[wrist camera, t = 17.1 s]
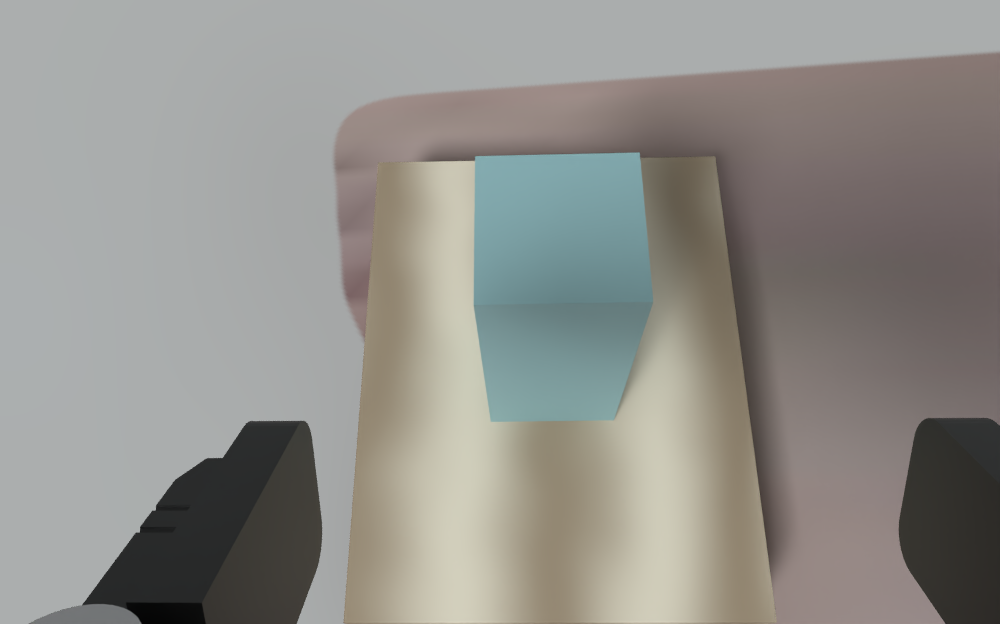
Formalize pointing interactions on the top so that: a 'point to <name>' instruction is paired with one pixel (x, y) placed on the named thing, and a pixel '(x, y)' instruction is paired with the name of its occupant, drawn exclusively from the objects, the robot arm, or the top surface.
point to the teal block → (559, 282)
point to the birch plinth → (552, 437)
